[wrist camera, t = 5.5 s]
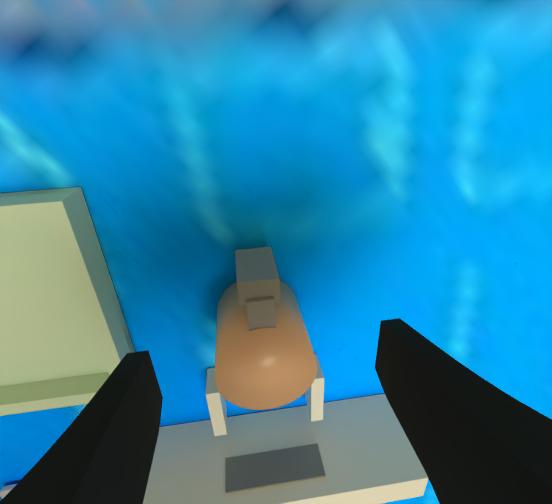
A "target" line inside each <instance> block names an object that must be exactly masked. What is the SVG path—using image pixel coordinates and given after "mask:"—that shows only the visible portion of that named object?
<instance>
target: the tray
mask: <svg viewBox="0 0 552 504" xmlns="http://www.w3.org/2000/svg"><path fill="white" fill-rule="evenodd" d="M132 352H135V349H134V346H133V343H132V340H131V337H130V334H129V331H128V328H127V325H126V322H125V319H124V316H123V313H122V310H121V307H120V304H119V301H118V298H117V295H116V292H115V289H114V286H113V283H112V280H111V277H110V274H109V271H108V268H107V265H106V262H105V259H104V256H103V253H102V250H101V247H100V243H99V240H98V237H97V234H96V231H95V228H94V225H93V222H92V219H91V216H90V213H89V210H88V207H87V204H86V201H85V198H84V195H83V192H82V189H81V187H73V188H61V189H48V190H36V191H24V192H11V193H0V416H3V415H10V414H17V413H24V412H32V411H39V410H46V409H53V408H60V407H68V406H75V405H82V404H88V403H89V401H90V400H91V399H92V398H93V396H94V395H95V394H96V393H97V391H98V390H99V389H100V387H101V386H102V385H103V384H104V382H105V381H106V380H107V378H108V377H109V376H110V374H111V373H112V372H113V370H114V369H115V368H116V367H117V365H118V364H119V363H120V361H121V360H122V359H123V358H124V356H125V355H126V354H127V353H132Z"/></svg>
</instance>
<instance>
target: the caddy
mask: <svg viewBox="0 0 552 504" xmlns="http://www.w3.org/2000/svg"><path fill="white" fill-rule="evenodd" d="M235 261H236V279H237V281H236V282H234V283H233V284H232V285H230V286H229V287H228V288H227V289H226V290H225V291H224V292H223V294H222V295H221V297H220V299H219V302H218V306H217V327H216V355H215V384H216V387H217V389H218V391H219V392H220V394H221V395H222V396H223V397H224V398H225V399H226V400H227V401H229V402H230V403H232V404H234V405H237V406H239V407H242V408H246V409H254V410H265V409H272V408H277V407H280V406H283V405H286V404H289V403H291V402H293V401H294V400H296V399H298V398H299V397H300V396H302V395H303V394H304V393H305V392H306V391H307V390H308V389H309V388H310V387H311V385H312V383H313V382H314V380H315V377H316V374H317V362H316V358H315V355H314V352H313V349H312V346H311V343H310V339H309V336H308V333H307V330H306V327H305V324H304V321H303V318H302V314H301V311H300V308H299V305H298V302H297V299H296V296H295V294H294V292H293V290H292V289H291V288H290V287H289V286H288V285H287V284H286V283H285V282H283V281H281V280H280V278H279V274H278V270H277V267H276V263H275V259H274V255H273V252H272V248H271V246H269V247H260V248H250V249H240V250H235Z"/></svg>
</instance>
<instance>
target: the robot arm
mask: <svg viewBox="0 0 552 504" xmlns="http://www.w3.org/2000/svg"><path fill="white" fill-rule="evenodd" d="M375 369H376V372H377V374H378V377H379V380H380V382H381V385H382V388H383V390H384V393H385V395H386V398H387V400H388V402H389V404H390V406H391V407H392V409H393V411H394V413H395V415H396V417H397V419H398V421H399V423H400V425H401V427H402V428H403V430H404V432H405V434H406V436H407V438H408V440H409V442H410V444H411V445H412V447H413V449H414V451H415V453H416V455H417V457H418V459H419V461H420V462H421V464H422V466H423V468H424V470H425V472H426V474H427V476H428V478H429V480H430V482H431V484H432V487H433V489H434V491H435V494H436V496H437V498H438V501H439V503H440V504H552V420H551V419H550V418H548V417H546V416H544V415H542V414H541V413H539V412H537V411H535V410H534V409H532V408H530V407H528V406H527V405H525V404H523V403H521V402H520V401H518V400H516V399H515V398H513V397H511V396H510V395H508V394H506V393H505V392H503V391H501V390H500V389H498V388H497V387H495V386H494V385H492V384H491V383H489V382H488V381H486V380H484V379H483V378H481V377H480V376H478V375H477V374H475V373H474V372H472V371H471V370H469V369H468V368H467V367H465V366H464V365H462V364H461V363H459V362H458V361H457V360H455V359H454V358H452V357H451V356H450V355H448V354H447V353H445V352H444V351H443V350H441V349H440V348H439V347H437V346H436V345H435V344H433V343H432V342H430V341H429V340H428V339H426V338H425V337H424V336H422V335H421V334H420V333H418V332H417V331H416V330H414V329H413V328H412V327H410V326H409V325H408V324H406V323H405V322H404V321H402V320H401V319H392V320H384V321H381V325H380V332H379V340H378V348H377V356H376V363H375ZM162 398H163V397H162V394H161V391H160V387H159V384H158V381H157V378H156V374H155V371H154V368H153V364H152V361H151V358H150V355H149V351H140V352H132V353H127V354H126V355H125V356H124V358H123V359H122V360H121V361H120V363H119V364H118V365H117V367H116V368H115V369H114V370H113V372H112V373H111V374H110V376H109V377H108V378H107V380H106V381H105V382H104V384H103V385H102V386H101V387H100V389H99V390H98V391H97V393H96V394H95V395H94V396H93V398H92V399H91V400H90V401H89V403H88V404H87V405H86V406H85V408H84V409H83V410H82V411H81V413H80V414H79V415H78V416H77V418H76V419H75V420H74V421H73V422H72V424H71V425H70V426H69V427H68V428H67V429H66V431H65V432H64V433H63V434H62V435H61V436H60V438H59V439H58V440H57V441H56V442H55V443H54V444H53V446H52V447H51V448H50V449H49V450H48V451H47V452H46V454H45V455H44V456H43V457H42V458H41V459H40V460H39V461H38V462H37V464H36V465H35V466H34V467H33V468H32V469H31V470H30V471H29V472H28V473H27V474H26V475H25V476H24V477H23V478H22V480H21V481H20V482H19V483H18V484H12V485H6V486H4V487H2V489H1V491H0V496H1V497H2V500H1V501H0V504H143V500H144V496H145V492H146V487H147V483H148V478H149V474H150V470H151V465H152V461H153V456H154V452H155V447H156V443H157V438H158V434H159V426H160V418H161V408H162Z"/></svg>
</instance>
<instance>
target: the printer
mask: <svg viewBox="0 0 552 504" xmlns="http://www.w3.org/2000/svg"><path fill="white" fill-rule="evenodd" d="M314 355H315V358H316V362H317V374H316V377H315V380H314V382H313V383H312V385H311V387H310V388H309V389H308V390H307V391H306V392H305V398H306V402H307V405H305V406H299V407H292V408H285V409H278V410H272V411H265V412H258V413H252V414H245V415H238V416H231V417H227V405H226V400H225V398H224V397H223V396H222V395H221V394H220V392H219V391H218V389H217V387H216V384H215V368H208V369H207V381H206V398H207V403H208V408H209V412H210V417H211V420H204V421H198V422H191V423H184V424H178V425H171V426H164V427H159V434H158V438H157V443H156V447H155V452H154V456H153V461H152V465H151V470H150V474H149V478H148V483H147V487H146V492H145V496H144V500H143V504H381V503H386V502H392V501H397V500H403V499H408V498H414V497H419V496H423V494H424V491H425V488H426V484H427V481H428V476H427V474H426V472H425V470H424V468H423V466H422V464H421V462H420V461H419V459H418V457H417V455H416V453H415V451H414V449H413V447H412V445H411V444H410V442H409V440H408V438H407V436H406V434H405V432H404V430H403V428H402V427H401V425H400V423H399V421H398V419H397V417H396V415H395V413H394V411H393V409H392V407H391V406H390V404H389V402H388V400H387V398H386V395H385V394H379V395H373V396H366V397H359V398H352V399H346V400H339V401H332V402H326V403H323V400H324V376H323V372H322V369H321V366H320V363H319V360H318V357H317V354H314Z"/></svg>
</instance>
